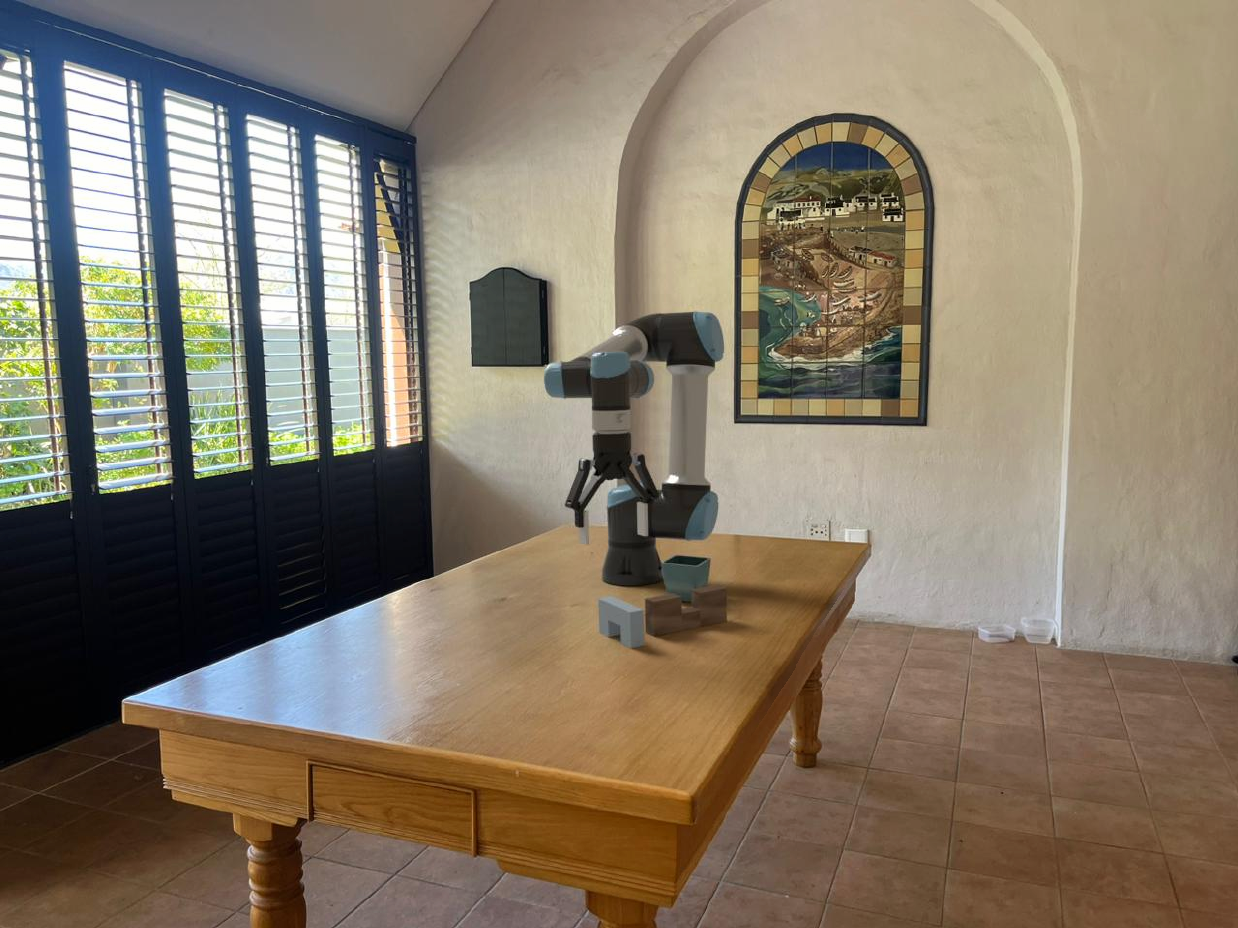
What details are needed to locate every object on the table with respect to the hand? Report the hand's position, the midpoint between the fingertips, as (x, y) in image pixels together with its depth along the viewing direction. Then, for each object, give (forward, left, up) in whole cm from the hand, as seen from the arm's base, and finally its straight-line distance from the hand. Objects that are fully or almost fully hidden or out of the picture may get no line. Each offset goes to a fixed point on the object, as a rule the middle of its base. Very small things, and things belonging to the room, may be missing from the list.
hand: (613, 539), depth 184 cm
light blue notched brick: (+4, -1, -19) cm, 19 cm away
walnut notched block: (+5, +14, -19) cm, 24 cm away
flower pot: (-12, +26, -19) cm, 35 cm away
